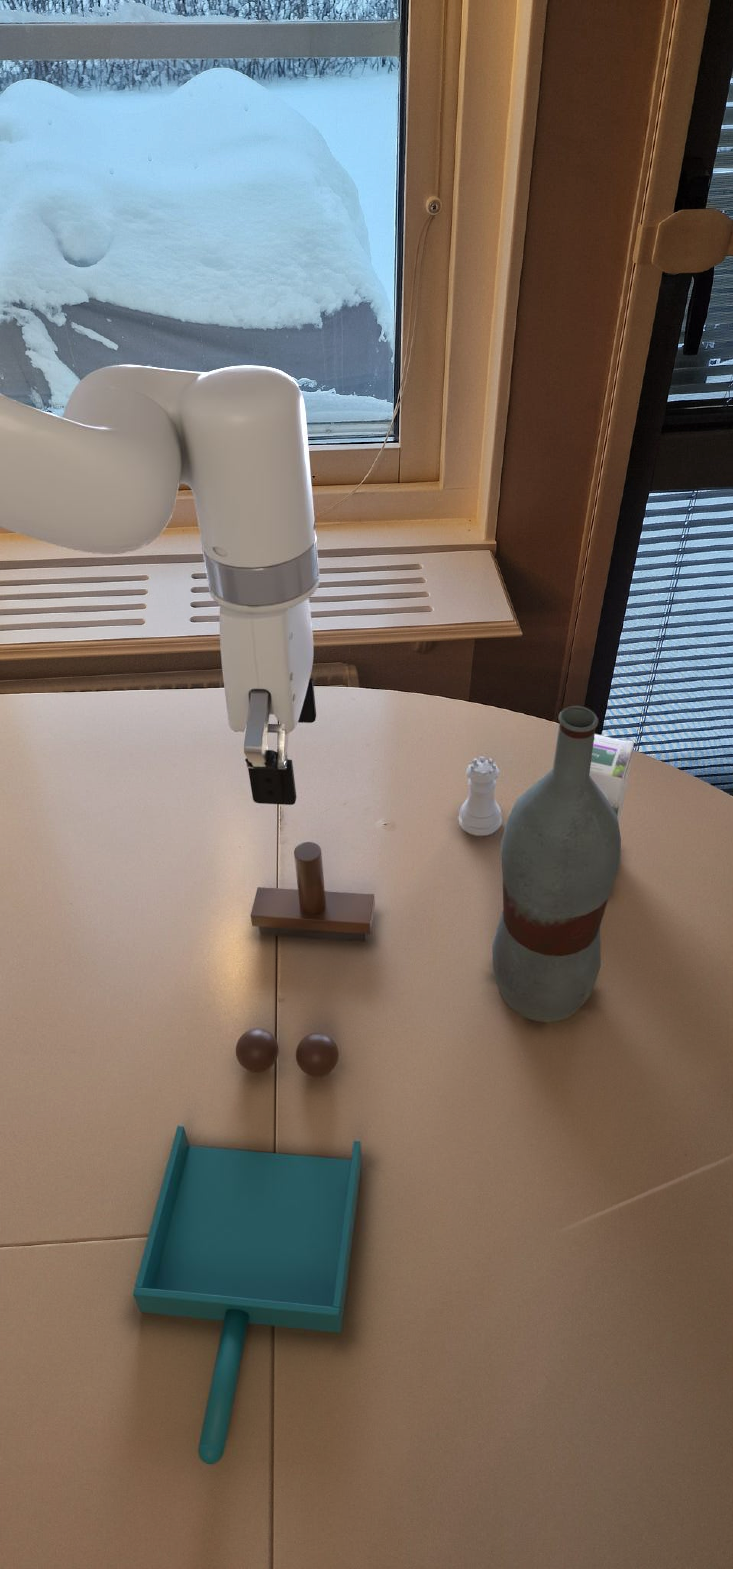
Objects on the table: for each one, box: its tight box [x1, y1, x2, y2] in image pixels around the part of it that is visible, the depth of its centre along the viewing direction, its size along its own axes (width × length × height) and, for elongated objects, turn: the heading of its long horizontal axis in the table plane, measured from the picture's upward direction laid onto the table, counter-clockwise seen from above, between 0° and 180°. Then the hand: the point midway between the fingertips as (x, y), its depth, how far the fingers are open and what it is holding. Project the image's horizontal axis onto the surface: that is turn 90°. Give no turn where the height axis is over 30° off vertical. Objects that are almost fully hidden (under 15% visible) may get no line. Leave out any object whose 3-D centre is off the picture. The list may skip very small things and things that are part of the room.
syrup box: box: [589, 733, 635, 824], centre depth 97 cm, size 6×6×14 cm
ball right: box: [295, 1032, 340, 1078], centre depth 85 cm, size 4×4×4 cm
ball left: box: [235, 1027, 279, 1073], centre depth 85 cm, size 4×4×4 cm
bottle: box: [491, 705, 622, 1023], centre depth 81 cm, size 9×9×30 cm
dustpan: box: [132, 1125, 363, 1466], centre depth 71 cm, size 21×14×3 cm, turn 174°
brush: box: [250, 841, 376, 942], centre depth 94 cm, size 11×4×10 cm, turn 84°
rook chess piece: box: [457, 755, 503, 837], centre depth 104 cm, size 4×4×8 cm
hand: (286, 759), depth 81 cm, fingers open, 9 cm apart
